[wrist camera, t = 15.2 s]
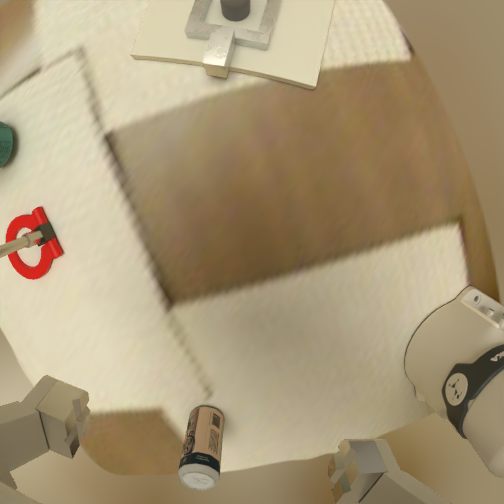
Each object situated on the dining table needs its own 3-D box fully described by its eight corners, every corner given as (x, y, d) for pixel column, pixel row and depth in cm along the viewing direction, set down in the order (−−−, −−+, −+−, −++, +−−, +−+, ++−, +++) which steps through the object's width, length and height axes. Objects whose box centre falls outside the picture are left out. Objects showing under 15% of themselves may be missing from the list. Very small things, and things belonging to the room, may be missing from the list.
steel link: (257, 84, 29) (259, 73, 26) (177, 70, 29) (168, 58, 25) (282, -9, 27) (286, -27, 23) (208, -21, 26) (204, -39, 22)
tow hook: (28, 285, 36) (69, 258, 35) (-33, 325, 24) (2, 297, 23) (2, 232, 35) (41, 198, 33) (-64, 257, 22) (-33, 217, 21)
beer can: (188, 403, 40) (173, 469, 29) (222, 404, 40) (216, 471, 29) (192, 427, 41) (181, 490, 30) (225, 428, 42) (221, 492, 30)
